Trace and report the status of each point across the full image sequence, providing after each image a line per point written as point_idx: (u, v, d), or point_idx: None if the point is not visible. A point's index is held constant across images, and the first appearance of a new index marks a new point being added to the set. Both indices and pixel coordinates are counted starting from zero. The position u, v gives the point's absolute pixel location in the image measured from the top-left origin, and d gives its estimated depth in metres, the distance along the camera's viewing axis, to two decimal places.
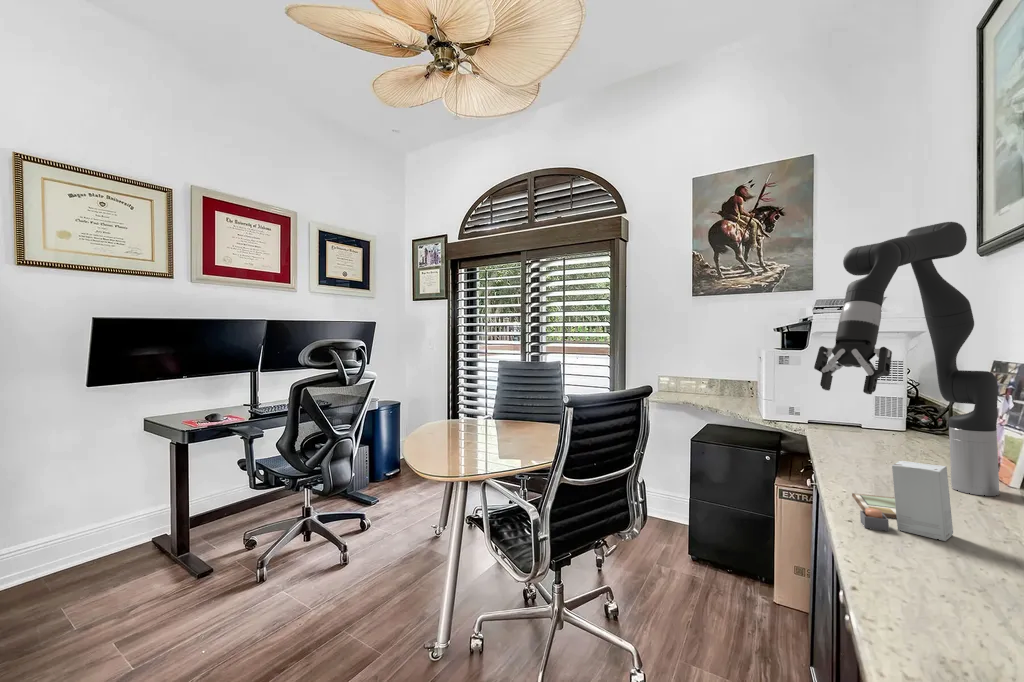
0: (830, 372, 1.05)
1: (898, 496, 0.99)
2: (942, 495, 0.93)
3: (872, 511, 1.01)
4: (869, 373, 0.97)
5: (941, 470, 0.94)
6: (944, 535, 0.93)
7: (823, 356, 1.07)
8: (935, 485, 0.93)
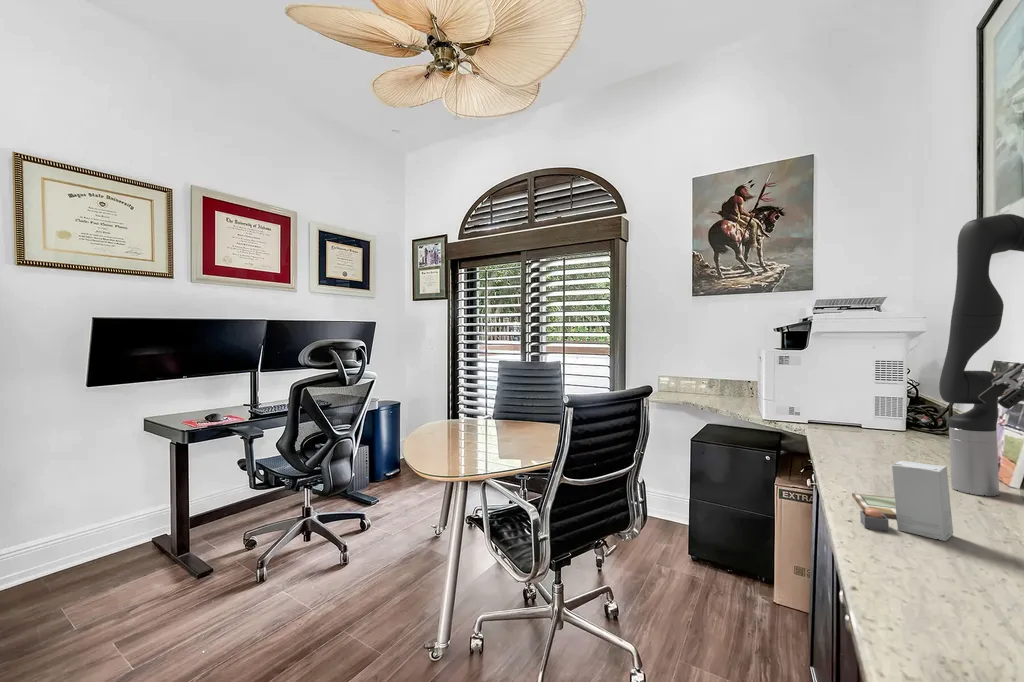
0: None
1: (898, 496, 0.99)
2: (942, 495, 0.93)
3: (872, 511, 1.01)
4: None
5: (941, 470, 0.94)
6: (944, 535, 0.93)
7: None
8: (935, 485, 0.93)
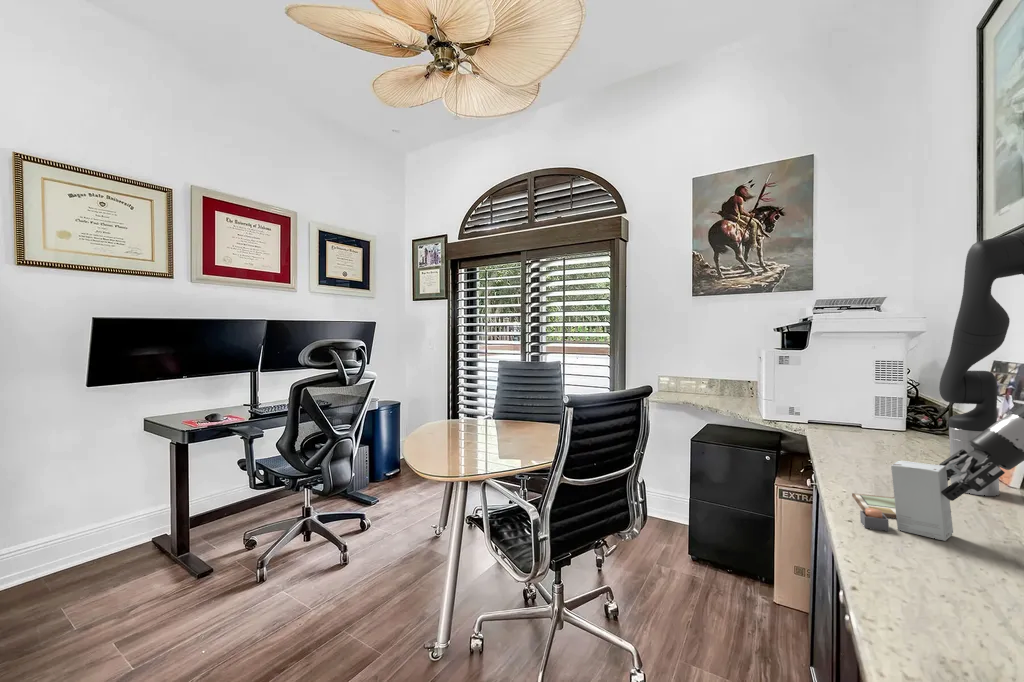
0: None
1: (898, 496, 0.98)
2: (941, 495, 0.93)
3: (872, 511, 1.01)
4: (951, 477, 0.98)
5: (940, 470, 0.94)
6: (944, 535, 0.93)
7: None
8: (934, 485, 0.93)
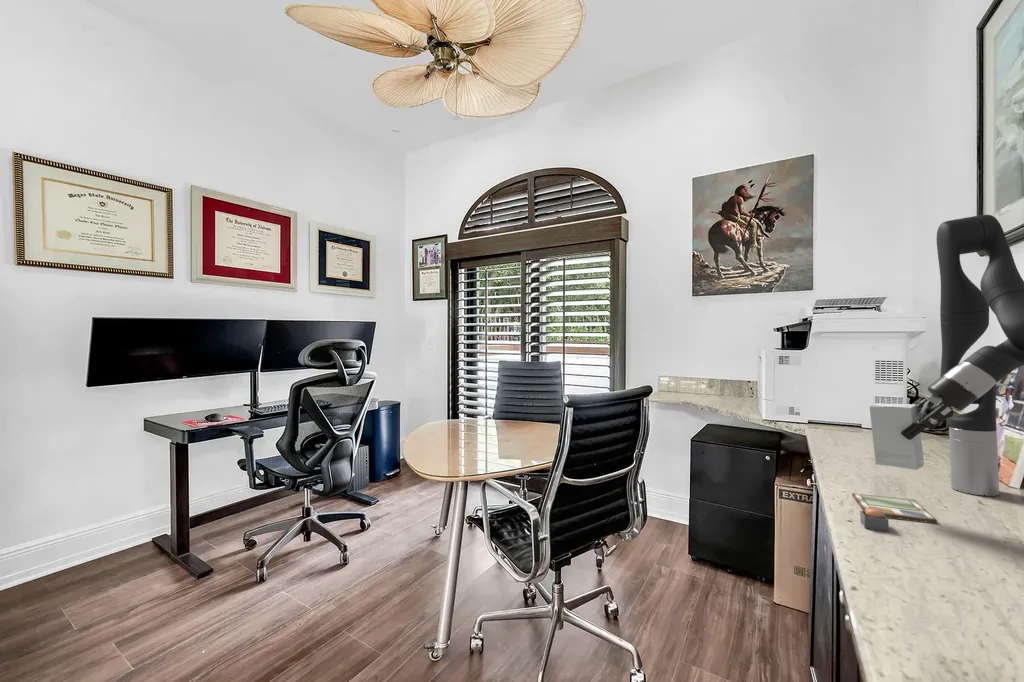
0: None
1: (875, 433, 1.09)
2: None
3: (872, 511, 1.01)
4: None
5: (912, 407, 1.05)
6: (916, 464, 1.03)
7: None
8: (907, 420, 1.04)
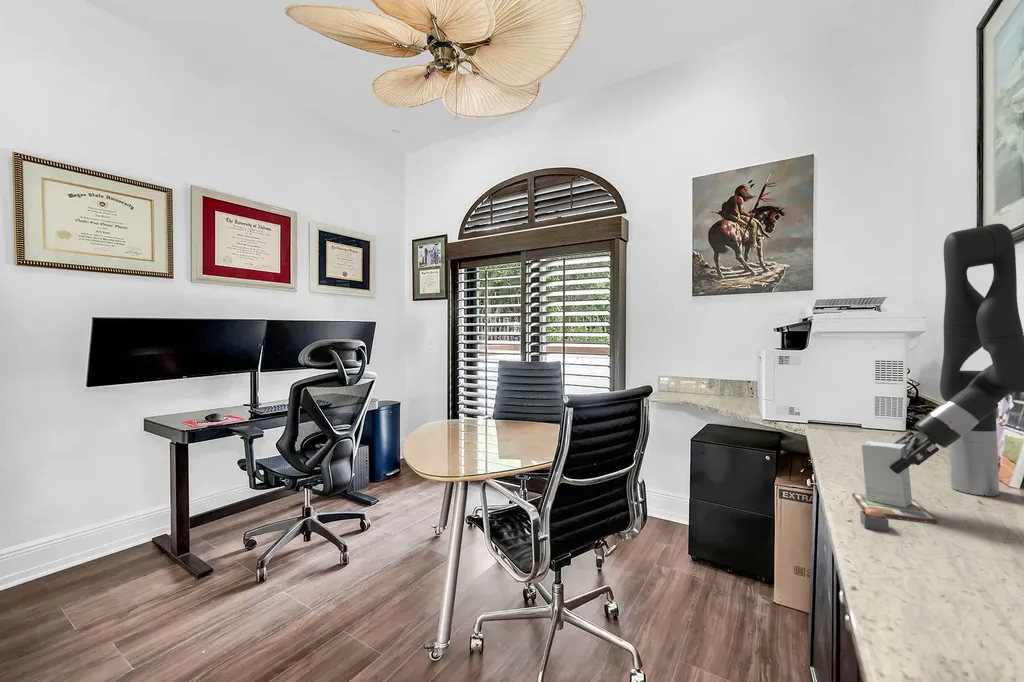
0: None
1: (867, 471, 1.15)
2: None
3: (872, 511, 1.01)
4: None
5: (902, 447, 1.10)
6: (904, 502, 1.09)
7: None
8: None
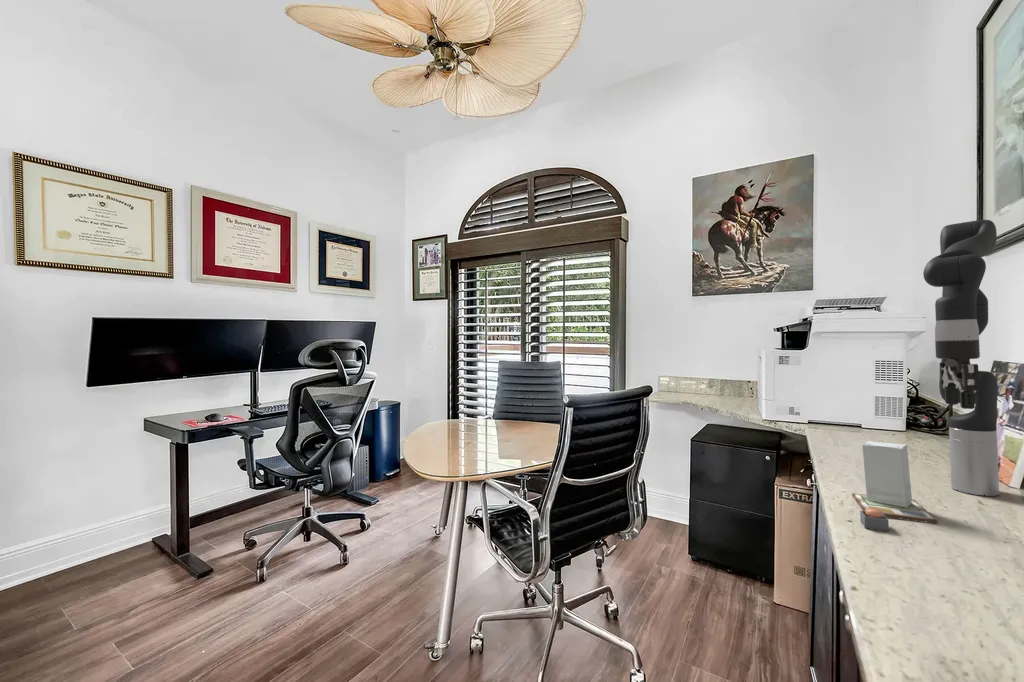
0: (952, 386, 1.10)
1: (867, 471, 1.15)
2: (904, 468, 1.09)
3: (872, 511, 1.01)
4: (960, 390, 1.03)
5: (903, 447, 1.10)
6: (905, 502, 1.09)
7: (943, 372, 1.12)
8: (898, 460, 1.10)
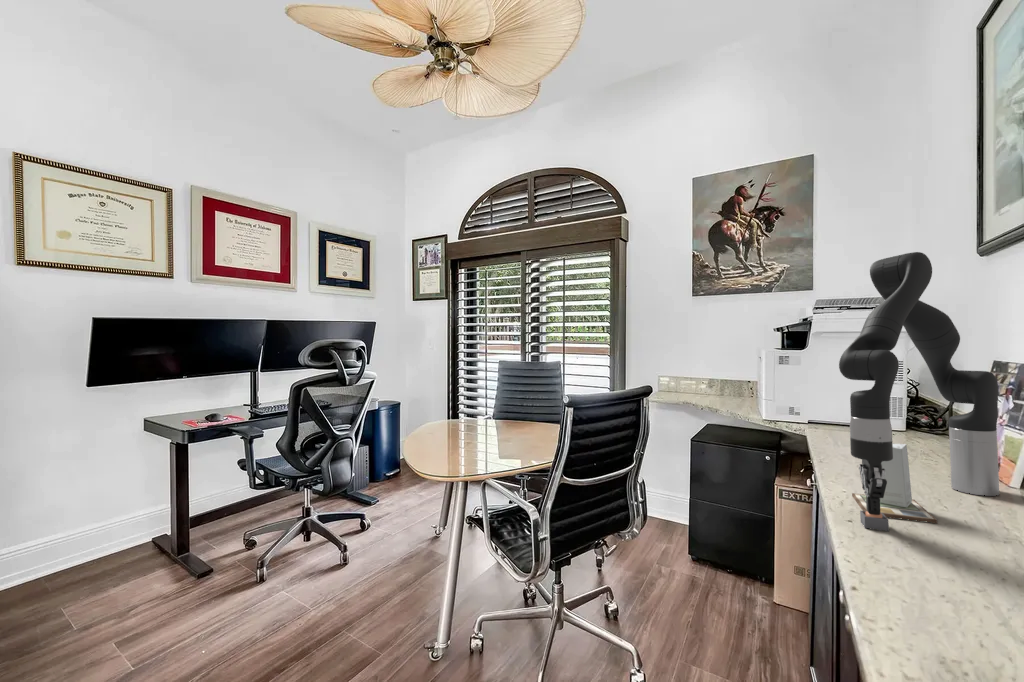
0: None
1: None
2: (904, 468, 1.09)
3: (872, 514, 1.01)
4: (866, 494, 1.01)
5: (903, 447, 1.10)
6: (905, 502, 1.09)
7: None
8: (898, 460, 1.10)
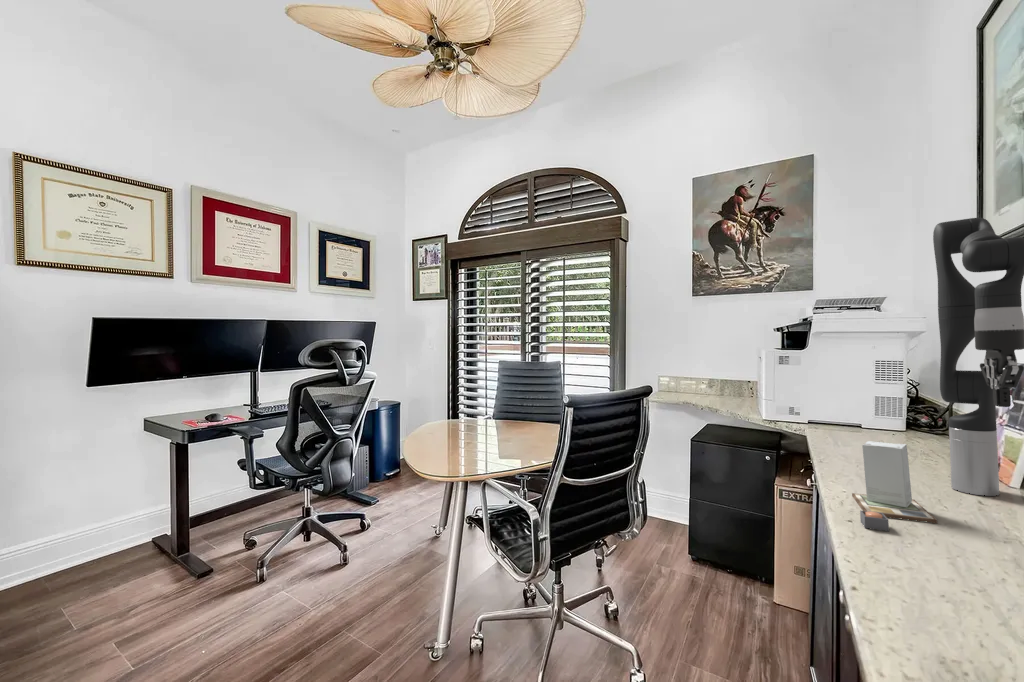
0: None
1: (867, 471, 1.15)
2: (904, 468, 1.09)
3: (872, 514, 1.01)
4: (994, 387, 0.99)
5: (903, 447, 1.10)
6: (905, 502, 1.09)
7: None
8: (898, 460, 1.10)
